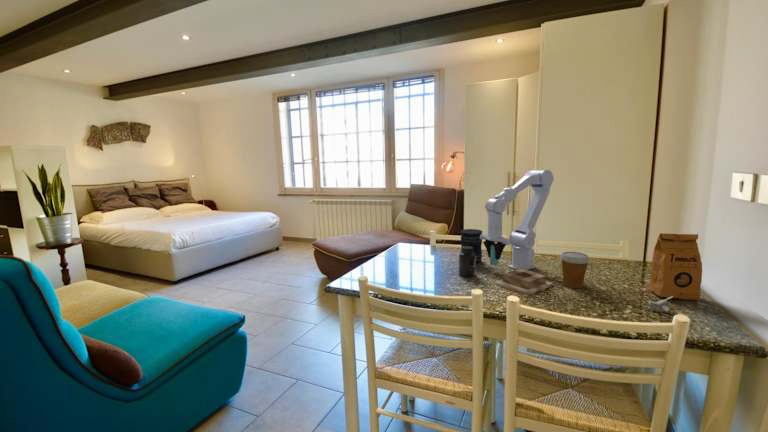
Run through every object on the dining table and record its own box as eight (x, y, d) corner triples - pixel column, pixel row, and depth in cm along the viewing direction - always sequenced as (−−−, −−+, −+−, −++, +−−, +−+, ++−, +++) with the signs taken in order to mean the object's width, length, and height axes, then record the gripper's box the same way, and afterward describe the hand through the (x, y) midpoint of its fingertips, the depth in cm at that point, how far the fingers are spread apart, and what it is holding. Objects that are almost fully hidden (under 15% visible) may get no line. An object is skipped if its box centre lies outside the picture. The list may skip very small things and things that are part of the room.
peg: (493, 262, 148) (494, 244, 146) (499, 264, 145) (500, 245, 144) (488, 263, 146) (489, 245, 145) (494, 265, 143) (495, 247, 142)
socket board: (521, 275, 140) (521, 266, 140) (553, 285, 129) (554, 275, 128) (495, 283, 132) (495, 274, 131) (527, 295, 120) (527, 284, 120)
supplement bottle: (475, 277, 139) (476, 249, 137) (458, 277, 141) (459, 249, 139) (474, 272, 146) (475, 245, 144) (458, 271, 147) (458, 244, 145)
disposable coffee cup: (576, 291, 122) (579, 259, 120) (553, 283, 130) (554, 253, 129) (593, 286, 126) (595, 255, 124) (569, 279, 135) (570, 250, 133)
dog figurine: (652, 315, 108) (640, 301, 108) (677, 302, 105) (665, 288, 106) (657, 320, 105) (645, 305, 105) (683, 306, 102) (671, 291, 103)
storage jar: (484, 264, 156) (485, 233, 154) (462, 265, 156) (463, 233, 154) (478, 258, 166) (479, 228, 164) (458, 259, 166) (458, 229, 164)
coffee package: (703, 304, 110) (712, 237, 106) (657, 299, 114) (664, 235, 110) (688, 292, 119) (695, 231, 115) (645, 289, 123) (651, 229, 119)
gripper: (475, 225, 147) (474, 256, 149) (502, 231, 135) (502, 263, 137) (486, 223, 151) (485, 253, 153) (514, 228, 139) (513, 260, 141)
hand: (494, 258), depth 145 cm, fingers closed on peg, 3 cm apart
